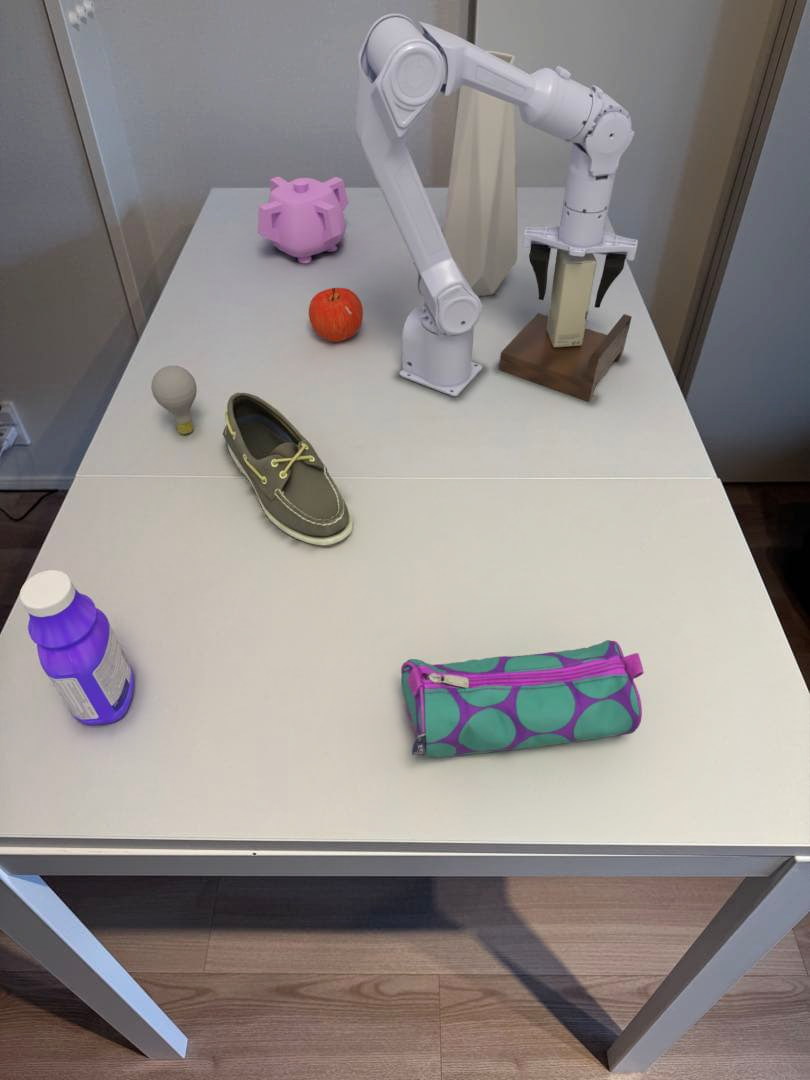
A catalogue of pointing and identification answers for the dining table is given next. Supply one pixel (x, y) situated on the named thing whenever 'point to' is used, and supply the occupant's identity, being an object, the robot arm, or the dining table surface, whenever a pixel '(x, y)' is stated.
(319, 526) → the boat shoe
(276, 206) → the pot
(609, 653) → the pencil case
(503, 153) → the vase
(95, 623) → the bottle
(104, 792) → the dining table surface
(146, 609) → the dining table surface
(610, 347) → the shelf
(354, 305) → the apple
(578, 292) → the box
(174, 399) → the light bulb
